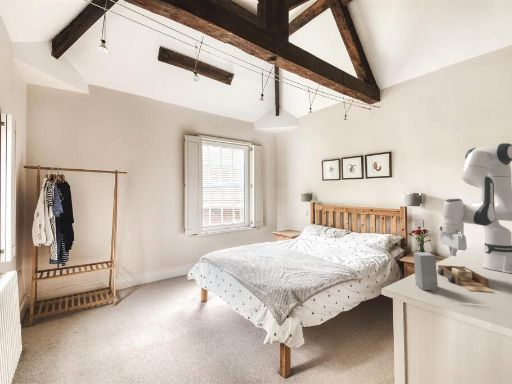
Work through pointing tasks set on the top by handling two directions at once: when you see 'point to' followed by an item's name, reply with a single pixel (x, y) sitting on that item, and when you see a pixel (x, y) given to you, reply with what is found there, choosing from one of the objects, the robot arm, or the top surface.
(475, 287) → the tailgate
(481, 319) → the top surface
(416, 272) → the skincare box
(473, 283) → the cart bed
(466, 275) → the block
